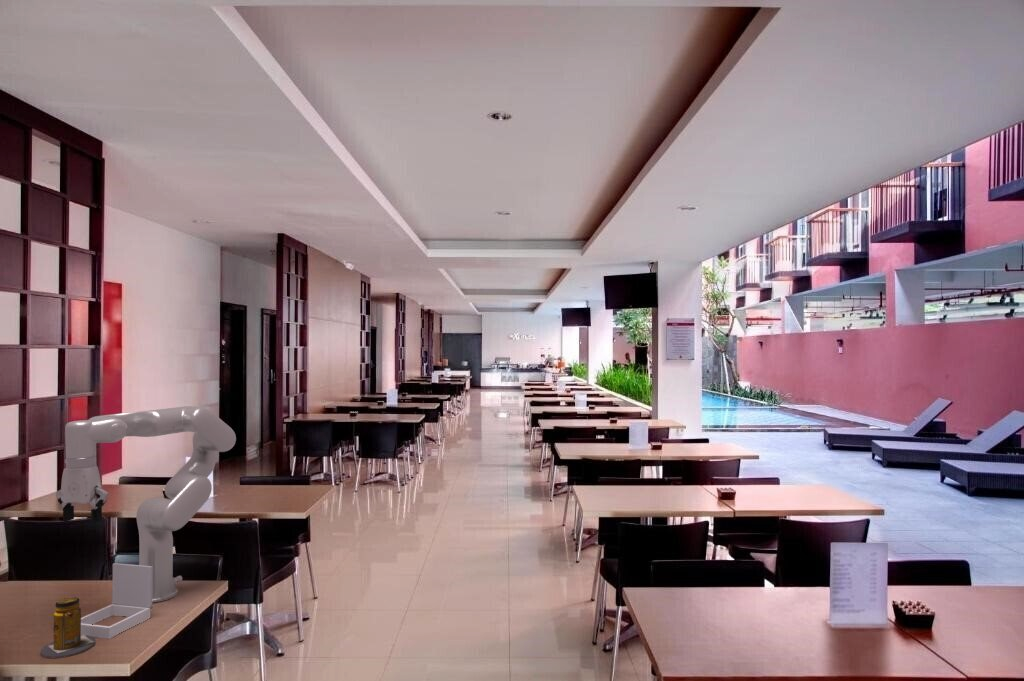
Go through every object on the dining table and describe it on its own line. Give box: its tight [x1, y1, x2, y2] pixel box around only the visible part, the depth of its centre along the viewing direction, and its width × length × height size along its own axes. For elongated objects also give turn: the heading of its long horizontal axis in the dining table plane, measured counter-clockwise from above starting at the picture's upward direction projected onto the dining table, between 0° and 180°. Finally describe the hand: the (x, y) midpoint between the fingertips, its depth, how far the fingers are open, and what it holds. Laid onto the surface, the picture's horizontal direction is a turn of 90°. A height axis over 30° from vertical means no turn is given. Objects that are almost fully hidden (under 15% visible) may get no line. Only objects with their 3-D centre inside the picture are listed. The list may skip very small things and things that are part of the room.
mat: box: [40, 636, 96, 658], centre depth 176 cm, size 12×12×1 cm
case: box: [81, 562, 153, 640], centre depth 191 cm, size 16×14×15 cm
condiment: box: [49, 596, 94, 653], centre depth 176 cm, size 7×8×12 cm
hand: (82, 521), depth 195 cm, fingers open, 9 cm apart
